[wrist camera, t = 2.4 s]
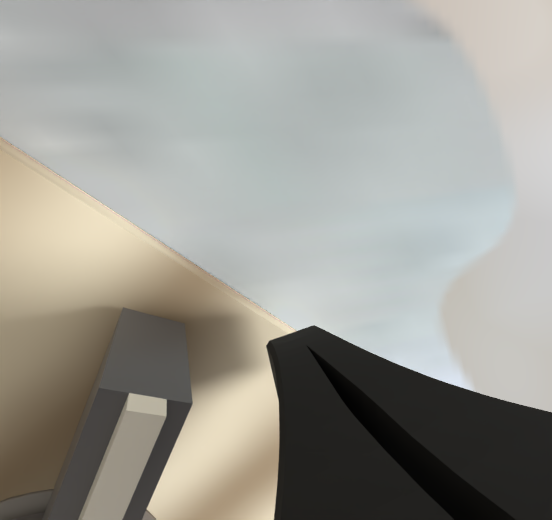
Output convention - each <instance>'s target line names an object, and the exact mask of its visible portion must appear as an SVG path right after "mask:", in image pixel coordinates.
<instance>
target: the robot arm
mask: <svg viewBox="0 0 552 520" xmlns="http://www.w3.org/2000/svg"><path fill="white" fill-rule="evenodd" d="M266 348H267V352H268V356H269V361H270V365H271V369H272V374H273V378H274V383H275V387H276V391H277V396H278V400H279V463H278V480H277V492H276V503H275V513H274V520H552V413H551V412H548V411H543V410H539V409H535V408H531V407H527V406H523V405H519V404H515V403H511V402H507V401H504V400H500V399H497V398H493V397H489V396H486V395H483V394H480V393H477V392H473V391H470V390H467V389H464V388H461V387H458V386H454V385H451V384H448V383H445V382H442V381H439V380H437V379H434V378H431V377H428V376H426V375H423V374H421V373H418V372H415V371H413V370H410V369H408V368H405V367H403V366H400V365H398V364H395V363H393V362H391V361H388V360H386V359H384V358H381V357H379V356H377V355H375V354H372V353H370V352H368V351H366V350H364V349H362V348H360V347H357V346H355V345H353V344H351V343H349V342H347V341H345V340H343V339H341V338H339V337H337V336H335V335H333V334H331V333H329V332H327V331H325V330H323V329H321V328H319V327H316V326H311V327H308V328H305V329H302V330H299V331H296V332H293V333H290V334H287V335H284V336H281V337H278V338H275V339H272V340H270V341H269V342H268V344H267V345H266Z"/></svg>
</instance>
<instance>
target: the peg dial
mask: <svg viewBox="0 0 552 520" xmlns="http://www.w3.org/2000/svg"><path fill="white" fill-rule="evenodd" d="M192 404H193V401H192V391H191V381H190V371H189V361H188V351H187V341H186V331H185V323H181V322H177V321H173V320H169V319H166V318H162V317H158V316H154V315H150V314H147V313H143V312H139V311H135V310H131V309H127V308H124V307H123V309H122V311H121V314H120V316H119V319H118V322H117V324H116V327H115V330H114V332H113V335H112V337H111V340H110V343H109V345H108V348H107V350H106V353H105V356H104V358H103V361H102V364H101V366H100V369H99V371H98V374H97V377H96V379H95V382H94V384H93V387H92V390H91V392H90V395H89V398H88V400H87V403H86V405H85V408H84V411H83V413H82V416H81V418H80V421H79V424H78V426H77V429H76V432H75V434H74V437H73V439H72V442H71V445H70V447H69V450H68V452H67V455H66V458H65V460H64V463H63V466H62V468H61V471H60V473H59V476H58V479H57V481H56V484H55V487H54V489H53V492H52V494H51V497H50V500H49V502H48V505H47V507H46V510H45V512H43V513H37V514H32V515H26V516H23V517H19V518H15V519H12V520H142V518H143V516H144V514H145V512H146V509H147V507H148V505H149V502H150V500H151V498H152V496H153V493H154V491H155V489H156V486H157V484H158V482H159V480H160V477H161V475H162V473H163V470H164V468H165V466H166V464H167V461H168V459H169V457H170V455H171V452H172V450H173V448H174V445H175V443H176V441H177V439H178V436H179V434H180V432H181V429H182V427H183V425H184V423H185V420H186V418H187V416H188V413H189V411H190V409H191V407H192Z"/></svg>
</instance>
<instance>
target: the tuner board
mask: <svg viewBox="0 0 552 520" xmlns="http://www.w3.org/2000/svg"><path fill="white" fill-rule="evenodd" d="M123 307H124V308H127V309H131V310H135V311H139V312H143V313H147V314H150V315H154V316H158V317H162V318H166V319H169V320H173V321H177V322H181V323H185V331H186V341H187V351H188V361H189V371H190V381H191V391H192V401H193V404H192V407H191V409H190V411H189V413H188V416H187V418H186V420H185V423H184V425H183V427H182V429H181V432H180V434H179V436H178V439H177V441H176V443H175V445H174V448H173V450H172V452H171V455H170V457H169V459H168V461H167V464H166V466H165V468H164V470H163V473H162V475H161V477H160V480H159V482H158V484H157V486H156V489H155V491H154V493H153V496H152V498H151V500H150V502H149V505H148V507H147V509H146V512H145V514H144V516H143V518H142V520H274V513H275V503H276V492H277V480H278V463H279V400H278V396H277V391H276V387H275V383H274V378H273V374H272V369H271V365H270V361H269V356H268V352H267V348H266V345H267V344H268V342H269V341H270V340H272V339H275V338H278V337H281V336H284V335H287V334H290V333H293V332H296V330H294V329H293V328H291V327H290V326H288V325H287V324H285V323H284V322H282V321H281V320H279V319H278V318H276V317H275V316H273V315H272V314H270V313H268V312H267V311H265V310H264V309H262V308H261V307H259V306H258V305H256V304H255V303H253V302H252V301H250V300H249V299H247V298H246V297H244V296H242V295H241V294H239V293H238V292H236V291H235V290H233V289H232V288H230V287H229V286H227V285H226V284H224V283H223V282H221V281H220V280H218V279H217V278H215V277H213V276H212V275H210V274H209V273H207V272H206V271H204V270H203V269H201V268H200V267H198V266H197V265H195V264H194V263H192V262H191V261H189V260H187V259H186V258H184V257H183V256H181V255H180V254H178V253H177V252H175V251H174V250H172V249H171V248H169V247H168V246H166V245H165V244H163V243H161V242H160V241H158V240H157V239H155V238H154V237H152V236H151V235H149V234H148V233H146V232H145V231H143V230H142V229H140V228H139V227H137V226H136V225H134V224H132V223H131V222H129V221H128V220H126V219H125V218H123V217H122V216H120V215H119V214H117V213H116V212H114V211H113V210H111V209H110V208H108V207H106V206H105V205H103V204H102V203H100V202H99V201H97V200H96V199H94V198H93V197H91V196H90V195H88V194H87V193H85V192H84V191H82V190H80V189H79V188H77V187H76V186H74V185H73V184H71V183H70V182H68V181H67V180H65V179H64V178H62V177H61V176H59V175H58V174H56V173H55V172H53V171H51V170H50V169H48V168H47V167H45V166H44V165H42V164H41V163H39V162H38V161H36V160H35V159H33V158H32V157H30V156H29V155H27V154H25V153H24V152H22V151H21V150H19V149H18V148H16V147H15V146H13V145H12V144H10V143H9V142H7V141H6V140H4V139H3V138H1V137H0V520H12V519H15V518H19V517H23V516H26V515H32V514H37V513H43V512H45V510H46V507H47V505H48V502H49V500H50V497H51V494H52V492H53V489H54V487H55V484H56V481H57V479H58V476H59V473H60V471H61V468H62V466H63V463H64V460H65V458H66V455H67V452H68V450H69V447H70V445H71V442H72V439H73V437H74V434H75V432H76V429H77V426H78V424H79V421H80V418H81V416H82V413H83V411H84V408H85V405H86V403H87V400H88V398H89V395H90V392H91V390H92V387H93V384H94V382H95V379H96V377H97V374H98V371H99V369H100V366H101V364H102V361H103V358H104V356H105V353H106V350H107V348H108V345H109V343H110V340H111V337H112V335H113V332H114V330H115V327H116V324H117V322H118V319H119V316H120V314H121V311H122V309H123Z"/></svg>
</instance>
